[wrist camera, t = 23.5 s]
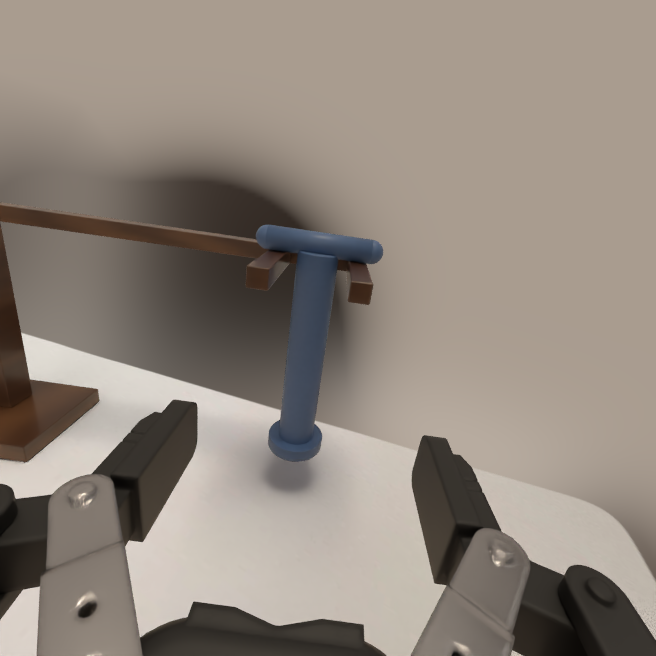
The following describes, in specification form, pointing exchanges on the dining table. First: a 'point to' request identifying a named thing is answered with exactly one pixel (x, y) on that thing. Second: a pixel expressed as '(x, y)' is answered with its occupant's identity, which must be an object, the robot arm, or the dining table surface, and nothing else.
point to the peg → (308, 328)
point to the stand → (73, 401)
